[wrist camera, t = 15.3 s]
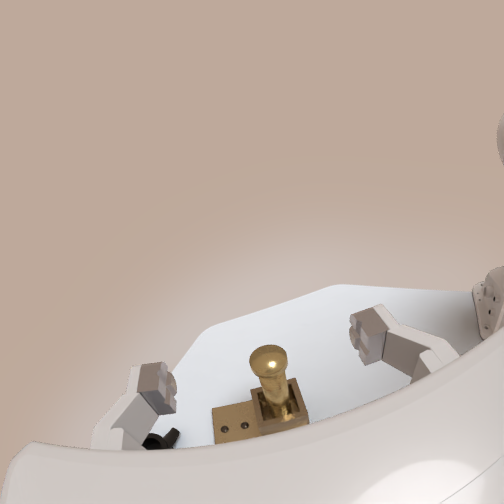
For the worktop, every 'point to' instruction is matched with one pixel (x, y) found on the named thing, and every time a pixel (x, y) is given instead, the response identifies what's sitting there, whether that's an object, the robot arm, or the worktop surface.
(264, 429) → the brass socket plate
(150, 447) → the black ring with tabs
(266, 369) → the hinge pin
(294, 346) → the worktop surface
